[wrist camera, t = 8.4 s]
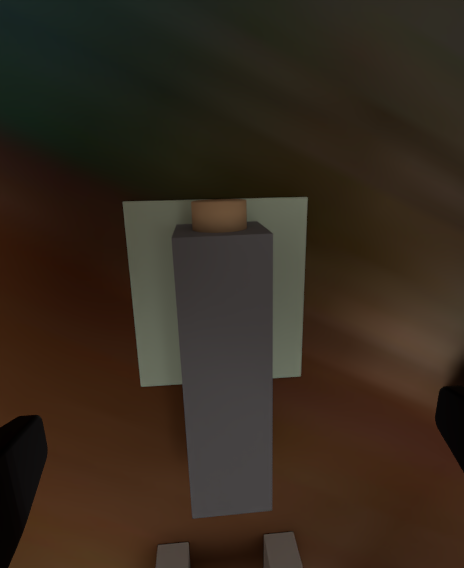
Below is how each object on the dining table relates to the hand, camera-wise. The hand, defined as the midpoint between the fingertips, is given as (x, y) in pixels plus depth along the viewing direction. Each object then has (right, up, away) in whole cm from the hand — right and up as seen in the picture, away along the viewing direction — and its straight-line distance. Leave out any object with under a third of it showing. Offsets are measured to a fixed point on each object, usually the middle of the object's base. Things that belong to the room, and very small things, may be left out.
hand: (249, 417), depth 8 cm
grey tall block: (-1, -1, +12) cm, 12 cm away
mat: (-1, +2, +12) cm, 12 cm away
